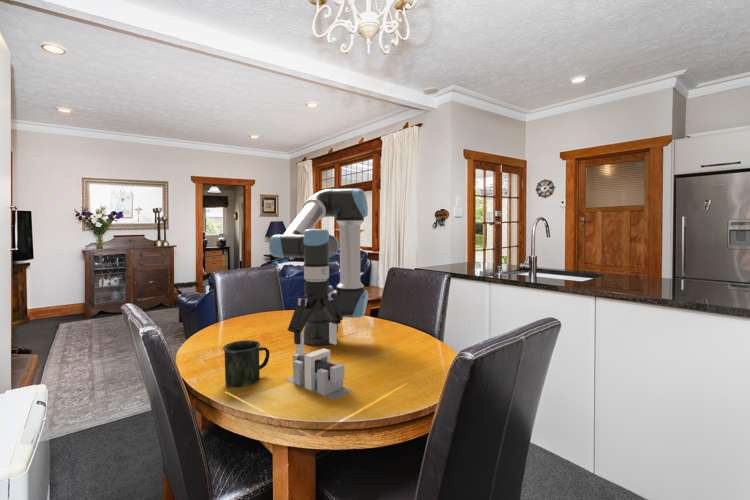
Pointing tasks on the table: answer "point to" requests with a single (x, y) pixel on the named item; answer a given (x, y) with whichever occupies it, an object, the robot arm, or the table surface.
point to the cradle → (319, 382)
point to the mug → (243, 363)
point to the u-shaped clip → (310, 366)
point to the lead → (334, 370)
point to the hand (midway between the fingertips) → (317, 348)
